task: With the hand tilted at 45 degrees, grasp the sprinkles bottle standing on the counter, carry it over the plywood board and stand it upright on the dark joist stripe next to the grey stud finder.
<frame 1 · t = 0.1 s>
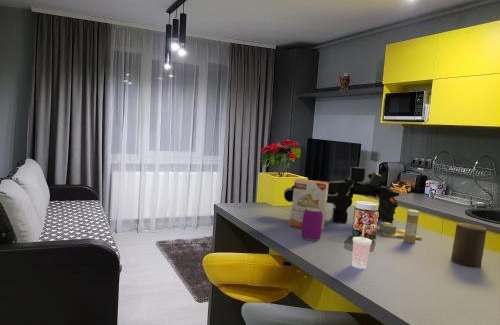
hand: (396, 192, 189), 17 cm above the counter, tool horizontal, fingers open, 9 cm apart
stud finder: (386, 233, 177), resting on plywood board
plywood board: (398, 234, 177), on the counter
pillar candle: (465, 263, 144), on the counter
beverage can: (310, 239, 158), on the counter
beverage cup: (359, 266, 131), on the counter
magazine: (385, 221, 203), on the counter
sprinkles bottle: (409, 242, 166), on the counter
cracker box: (306, 228, 174), on the counter
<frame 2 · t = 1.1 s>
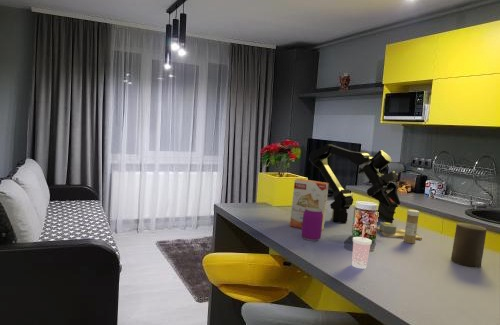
hand: (394, 205, 171), 14 cm above the counter, tool tilted 45°, fingers open, 9 cm apart
nothing on the counter moved.
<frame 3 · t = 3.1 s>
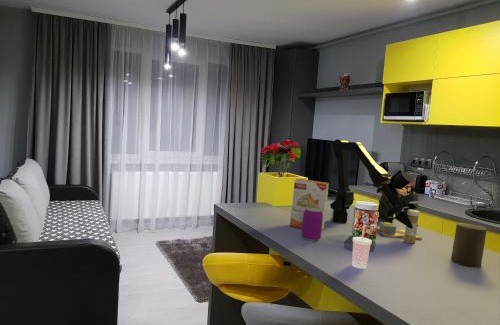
hand: (414, 227, 164), 7 cm above the counter, tool tilted 45°, fingers closed on sprinkles bottle, 4 cm apart
sprinkles bottle: (409, 242, 166), on the counter, touching gripper
everything else where it was.
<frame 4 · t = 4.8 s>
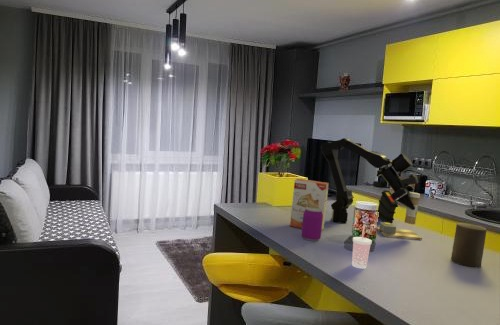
hand: (415, 208, 171), 13 cm above the counter, tool tilted 45°, fingers closed on sprinkles bottle, 4 cm apart
sprinkles bottle: (409, 223, 172), point 6 cm above the counter, touching gripper
everything else where it was.
when the fingers open (9 cm above the counter, at t = 6.4 s): sprinkles bottle stays where it is, resting on plywood board.
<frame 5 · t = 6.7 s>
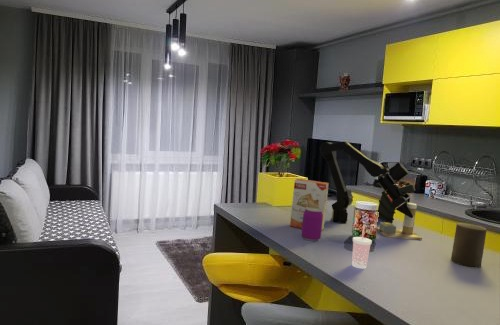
hand: (413, 215, 175), 9 cm above the counter, tool tilted 45°, fingers open, 7 cm apart
sprinkles bottle: (407, 233, 176), point 1 cm above the counter, touching plywood board
everything else where it was.
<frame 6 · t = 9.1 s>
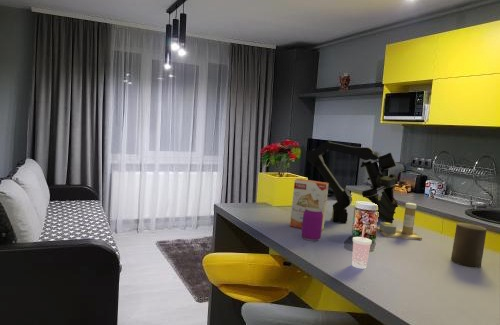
hand: (386, 205, 183), 11 cm above the counter, tool tilted 25°, fingers open, 9 cm apart
nothing on the counter moved.
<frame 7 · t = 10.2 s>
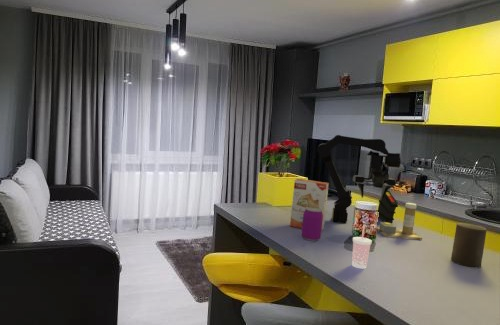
hand: (372, 198, 188), 13 cm above the counter, tool pointing down, fingers open, 9 cm apart
nothing on the counter moved.
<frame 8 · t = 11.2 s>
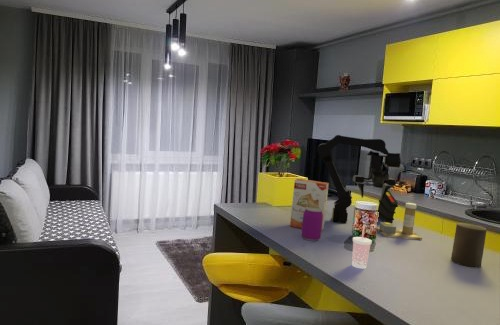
hand: (372, 198, 188), 13 cm above the counter, tool pointing down, fingers open, 9 cm apart
nothing on the counter moved.
at the end: sprinkles bottle inside the target area (0.4 cm from its centre), point 0.8 cm above the counter; sprinkles bottle tilted 0°; the gripper is holding nothing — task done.
